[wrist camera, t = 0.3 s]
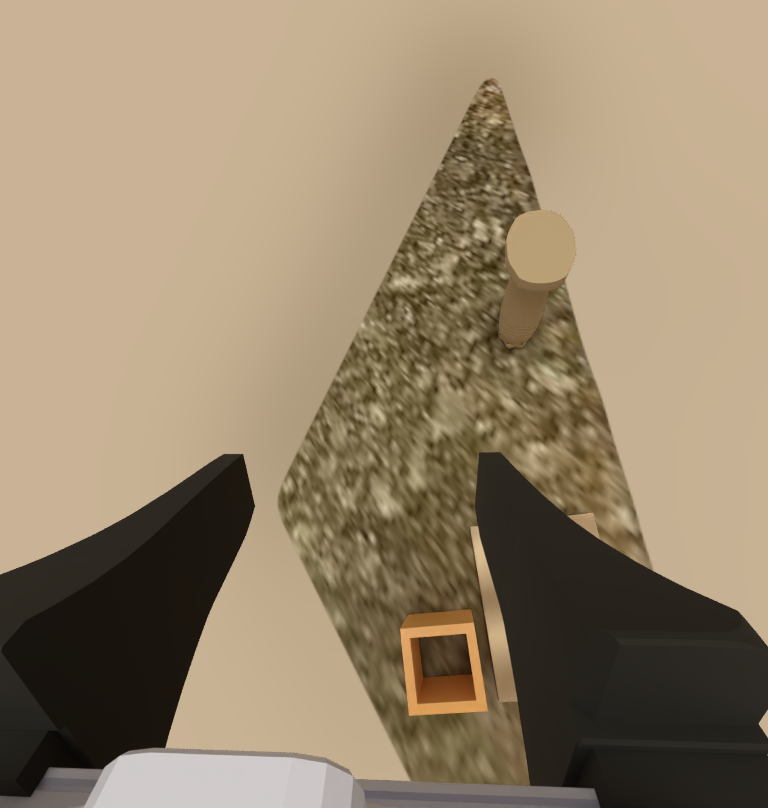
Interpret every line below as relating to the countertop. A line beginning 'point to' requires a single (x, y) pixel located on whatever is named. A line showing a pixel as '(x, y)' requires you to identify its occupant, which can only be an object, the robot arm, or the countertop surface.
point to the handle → (533, 271)
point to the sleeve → (441, 690)
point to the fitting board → (495, 617)
